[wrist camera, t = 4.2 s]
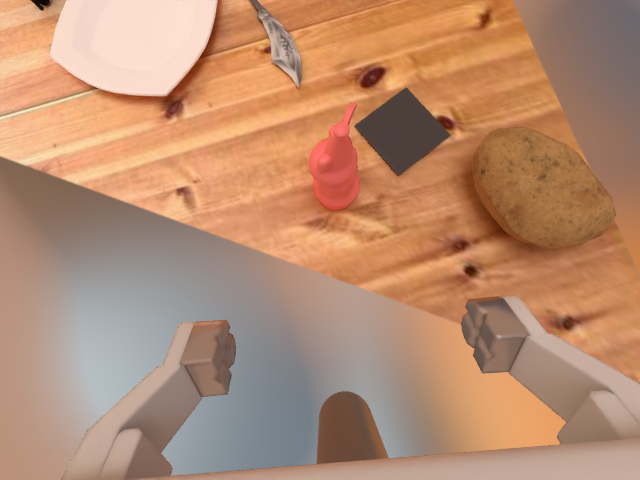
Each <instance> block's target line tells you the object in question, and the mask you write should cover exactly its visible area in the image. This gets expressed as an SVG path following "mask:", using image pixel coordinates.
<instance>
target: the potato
mask: <svg viewBox="0 0 640 480" xmlns="http://www.w3.org/2000/svg"><path fill="white" fill-rule="evenodd" d="M472 177H473V181H474V184H475V188H476V191H477V194H478V195H479V197H480V199H481V201H482V202H483V204H484V206H485V207H486V209H487V210H488V211H489V213H490V214H491V216H492V217H493V218H494V220H495V221H496V222H497V223H498V224H499V226H500V227H501V228H502V229H503V230H504V231H505V232H506V233H507V234H509V235H511V236H512V237H514V238H515V239H517V240H519V241H520V242H523V243H526V244H529V245H532V246H535V247H539V248H545V249H561V248H571V247H575V246H578V245H581V244H583V243H586V242H588V241H590V240H592V239H594V238H596V237H598V236H600V235H602V234H603V233H604V232H605V231H607V230H608V228H609V226H610V224H611V223H612V221H613V219H614V218H615V216H616V212H615V208H614V205H613V200H612V197H611V196H610V195H609V193H608V192H607V190H606V189H605V188H604V186H603V185H602V184H601V182H600V181H599V180H598V179H597V177H596V176H595V175H594V174H593V172H592V171H591V170H590V168H589V167H588V166H587V164H586V163H585V161H584V160H583V158H582V157H581V156H580V155H579V154H578V153H577V152H575V151H574V150H573V149H571V148H570V147H569V146H568V145H566V144H564V143H561V142H559V141H557V140H555V139H552V138H550V137H548V136H546V135H544V134H542V133H540V132H538V131H535V130H531V129H527V128H524V127H514V128H501V129H497V130H494V131H492V132H489V134H488V135H487V136H486V137H485V139H484V140H483V141H482V142H481V143H480V145H479V146H478V147H477V150H476V152H475V154H474V157H473V171H472Z"/></svg>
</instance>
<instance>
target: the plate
mask: <svg viewBox="0 0 640 480" xmlns="http://www.w3.org/2000/svg"><path fill="white" fill-rule="evenodd" d="M217 1H218V0H67V1H66V3H65V5H64V7H63V10H62V12H61V15H60V17H59V20H58V23H57V26H56V30H55V34H54V38H53V42H52V46H51V51H50V57H51V58H52V59H53V60H54V61H56V62H57V63H58V64H59V65H61V66H62V67H63V68H65V69H66V70H67V71H69V72H70V73H71V74H73V75H74V76H76V77H77V78H79V79H81V80H82V81H84V82H85V83H87V84H90V85H92V86H94V87H97V88H99V89H101V90H105V91H109V92H113V93H118V94H126V95H136V96H167V95H168V94H169V93H170V92H171V91H172V90H173V89H174V88H175V87H176V86H177V85H178V84H179V83H180V81H181V80H182V79H183V78H184V77H185V76H186V75H187V73H188V72H189V71H190V70H191V68H192V67H193V66H194V64H195V63H196V62H197V60H198V59H199V58H200V56H201V54H202V53H203V51H204V49H205V48H206V46H207V43H208V41H209V38H210V35H211V32H212V28H213V24H214V20H215V14H216V8H217Z"/></svg>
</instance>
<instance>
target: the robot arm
mask: <svg viewBox="0 0 640 480" xmlns="http://www.w3.org/2000/svg"><path fill="white" fill-rule="evenodd" d="M466 309H467V311H468V312H467V313H466V314H465V315H464V316H463V318H462V322H461V325H462V332H463V335H464V338H465V340H466V342H467V344H468V345H470V346H471V347H473V348H474V349H475V350H474V354H473V356H474V358H475V360H476V362H477V364H478V366H479V367H480V370H481V371H482V373H499V372H509V374H510V375H511V376H513V377H514V378H515V379H516V380H517V381H519V382H520V383H521V384H522V385H523V386H525V387H526V388H527V389H528V390H529V391H530V392H532V393H533V394H534V395H535V396H536V397H537V398H539V399H540V400H541V401H542V402H544V403H545V404H546V405H547V406H548V407H549V408H551V409H552V410H553V411H554V412H555V413H556V414H558V415H559V416H560V417H561V418H562V419H564V420H565V421H566V424H565V425H564V426H563V428H562V429H561V430H560V431H559V433H558V435H557V438H558V440H559V442H560V443H561V444H560V445H548V446H536V447H524V448H511V449H498V450H486V451H474V452H461V453H449V454H436V455H424V456H412V457H399V458H387V459H374V460H362V461H349V462H337V463H325V464H313V465H301V466H287V467H275V468H263V469H251V470H238V471H226V472H215V473H201V474H189V475H177V476H171V473H172V467H171V465H170V463H169V462H168V461H167V460H166V459H165V458H164V456H163V455H162V454H161V452H162V451H163V449H164V448H165V447H166V446H167V444H168V443H169V442H170V440H171V439H172V438H173V436H174V435H175V434H176V432H177V431H178V430H179V429H180V427H181V426H182V425H183V423H184V422H185V421H186V419H187V418H188V417H189V415H190V414H191V413H192V411H193V410H194V409H195V407H196V406H197V405H198V403H199V402H200V401H201V399H202V398H201V397H208V396H217V395H226V394H228V390H229V385H230V381H231V376H232V375H231V373H230V370H229V368H230V367H231V366H232V365H233V364H234V360H235V355H236V345H235V339H234V337H233V335H232V334H230V333H229V329H230V325H229V323H228V321H227V320H218V321H200V322H187V323H181V324H180V325H179V326H178V328H177V330H176V333H175V335H174V337H173V340H172V342H171V345H170V347H169V349H168V352H167V354H166V357H165V359H164V361H163V364H162V366H161V367H156V368H155V369H154V370H153V371H152V372H151V373H150V374H149V375H148V376H146V377H145V378H144V379H143V380H142V381H141V382H140V383H139V384H138V385H137V386H135V387H134V388H133V389H132V390H131V391H130V392H129V393H128V394H127V395H126V396H124V397H123V398H122V399H121V400H120V401H119V402H118V403H117V404H116V405H115V406H114V407H113V408H112V409H110V410H109V411H108V412H107V413H106V414H105V415H104V416H103V417H101V418H100V419H99V420H98V421H97V422H96V423H95V424H94V425H93V426H92V427H91V428H89V429H88V430H87V432H86V433H85V435H84V437H83V439H82V441H81V443H80V445H79V447H78V448H77V450H76V452H75V454H74V456H73V458H72V460H71V462H70V463H69V465H68V467H67V469H66V471H65V473H64V475H63V477H62V479H61V480H640V383H639V382H637V381H635V380H633V379H632V378H630V377H628V376H626V375H625V374H623V373H621V372H619V371H617V370H616V369H614V368H612V367H610V366H609V365H607V364H605V363H603V362H602V361H600V360H598V359H596V358H595V357H593V356H591V355H589V354H587V353H586V352H584V351H582V350H580V349H579V348H577V347H575V346H573V345H572V344H570V343H568V342H566V341H565V340H563V339H561V338H559V337H558V336H556V335H554V334H548V333H547V332H546V331H545V329H544V328H543V327H542V325H541V324H540V323H539V322H538V320H537V319H536V318H535V317H534V315H533V314H532V313H531V312H530V310H529V309H528V308H527V307H526V305H525V304H524V303H523V301H522V300H521V299H520V298H519V297H518V296H516V295H511V296H500V297H498V296H497V297H487V298H477V299H469V300H468V301H467V304H466Z"/></svg>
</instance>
